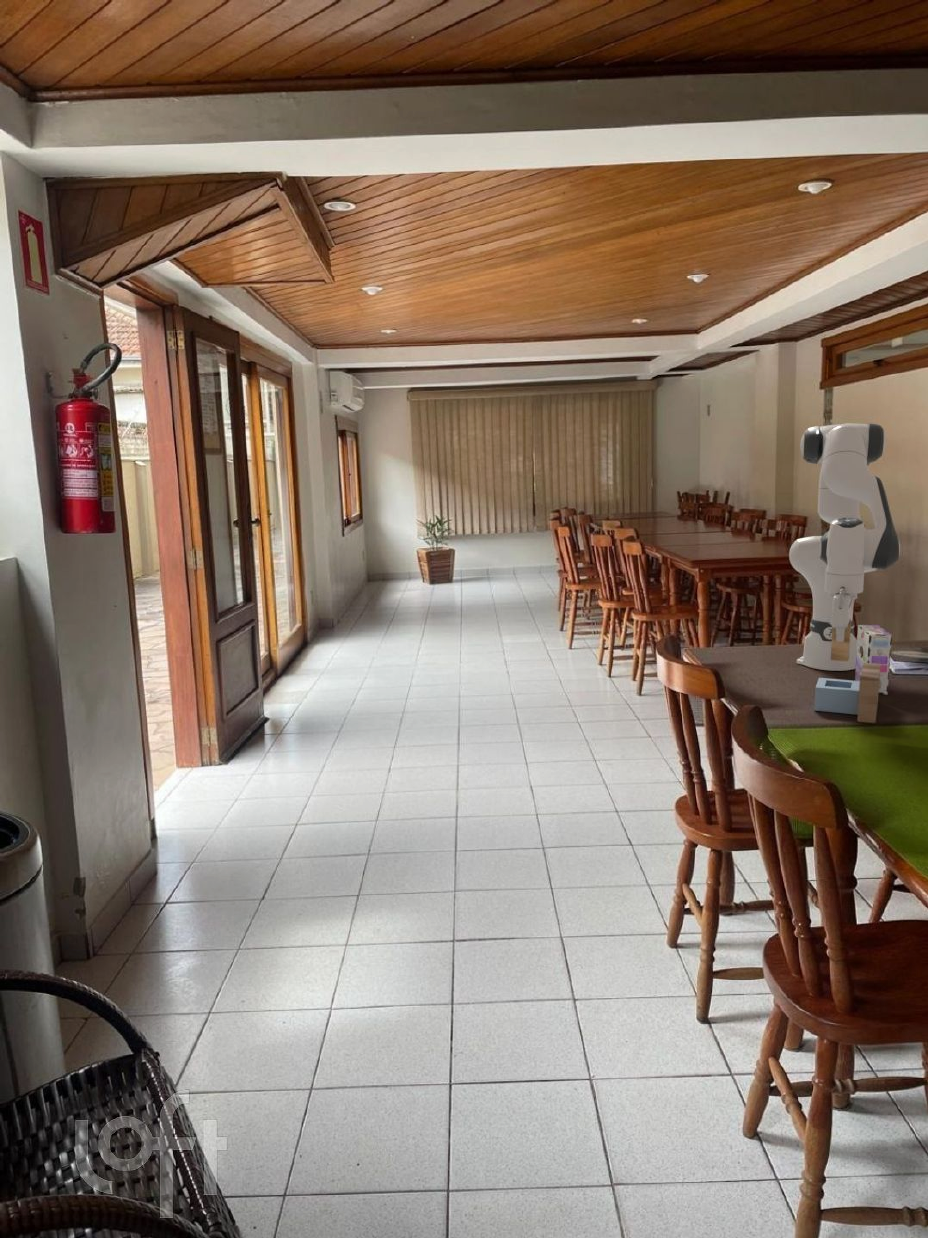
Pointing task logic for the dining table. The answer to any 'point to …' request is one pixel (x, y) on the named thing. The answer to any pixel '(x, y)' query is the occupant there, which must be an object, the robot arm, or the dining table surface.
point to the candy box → (874, 652)
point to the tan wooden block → (841, 645)
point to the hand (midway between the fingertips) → (840, 639)
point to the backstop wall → (868, 692)
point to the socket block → (837, 696)
